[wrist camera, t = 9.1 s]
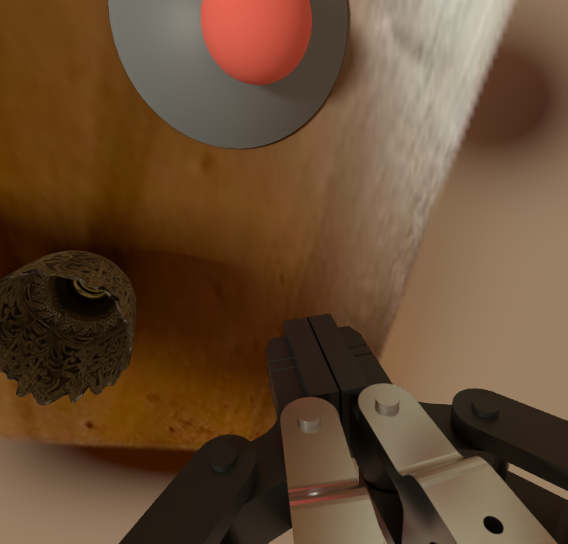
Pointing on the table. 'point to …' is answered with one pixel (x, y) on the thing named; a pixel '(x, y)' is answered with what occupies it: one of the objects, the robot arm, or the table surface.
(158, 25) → the gray disc
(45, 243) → the table surface
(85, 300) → the cup
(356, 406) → the robot arm
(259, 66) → the ball
